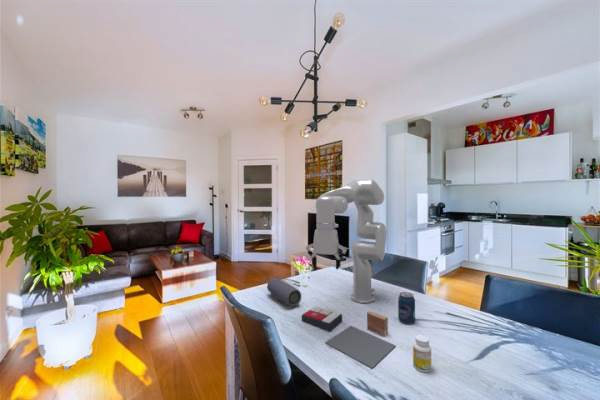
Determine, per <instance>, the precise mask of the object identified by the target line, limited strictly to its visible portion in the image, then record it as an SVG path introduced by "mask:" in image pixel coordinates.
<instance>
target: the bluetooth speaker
mask: <svg viewBox="0 0 600 400" xmlns="http://www.w3.org/2000/svg"><path fill="white" fill-rule="evenodd" d="M266 288H267V290H268V292H270V294H272V295H273V297H275V298H277V300H278V301H279V302H281V303H282V304H284V305H287V306H290V307H295V306H297V305H299V304H300V302H301V300H302V293H301V292H300V291H299V289H297V288H296V287H294V286H293V285H292V284H290V283H288V282H286V281H284V280H283V279H282V280H281V279H280V278H277V277H271V278H270V280H269V281H268V282H267V284H266Z"/></svg>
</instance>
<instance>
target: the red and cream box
mask: <svg viewBox="0 0 600 400" xmlns="http://www.w3.org/2000/svg"><path fill="white" fill-rule="evenodd" d="M301 321H302V322H303V323H305V324H308V325H309V326H310V325H311V326H313V327H316V328H319V329H321V330H323V331H326V332H328V333H331V332H332V331H333V330H334V329H336V328H337V327H338V326H339V325H340V324H341V323H342V322H343V314H342V313H340V312H337V311H333V310H330V309H327V308H323V307H319V306H317V305H316V306H314V307H312V308H310V309H309V310H307V311H305V312H304V313H303V314H301Z"/></svg>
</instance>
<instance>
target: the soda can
mask: <svg viewBox="0 0 600 400" xmlns="http://www.w3.org/2000/svg"><path fill="white" fill-rule="evenodd" d="M397 299H398V300H397V302H398V303H397V309H398V311H397V313H398V314H397V317H398V319H399V321H400V322H401V323H403V324H405V325H413V324H414V323H415V322H416V299H415V297H414V294H413V293H411V292H407V291H401V292H399V295H398V297H397Z"/></svg>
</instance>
